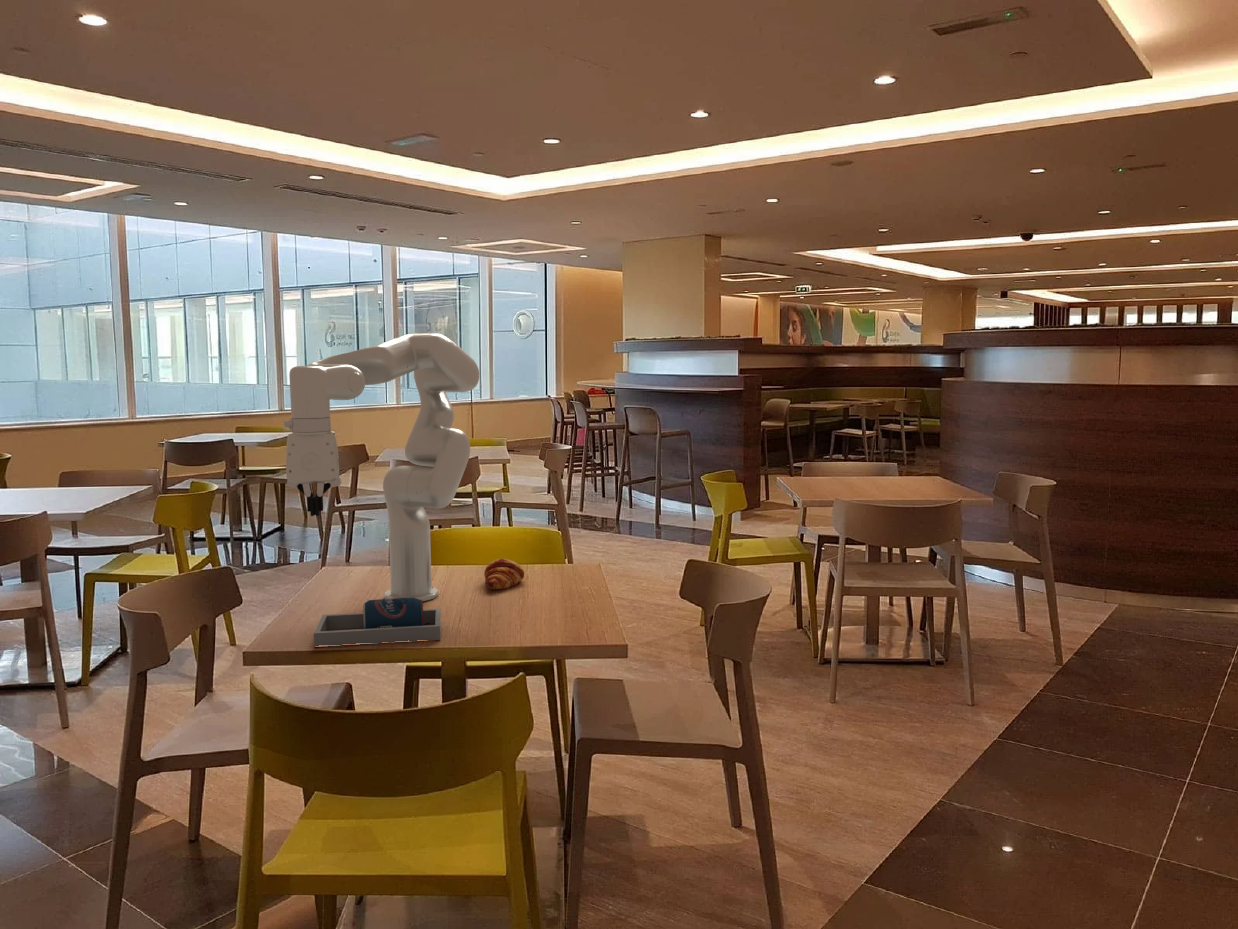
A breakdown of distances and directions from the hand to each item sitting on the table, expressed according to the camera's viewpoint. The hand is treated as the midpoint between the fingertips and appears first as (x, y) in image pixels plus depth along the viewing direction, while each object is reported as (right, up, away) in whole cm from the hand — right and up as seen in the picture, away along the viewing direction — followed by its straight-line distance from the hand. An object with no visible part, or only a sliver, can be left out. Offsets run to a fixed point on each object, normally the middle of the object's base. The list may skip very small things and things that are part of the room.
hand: (315, 514), depth 185 cm
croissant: (+34, -20, +43) cm, 58 cm away
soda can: (+9, -21, +1) cm, 23 cm away
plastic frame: (+13, -25, 0) cm, 28 cm away
